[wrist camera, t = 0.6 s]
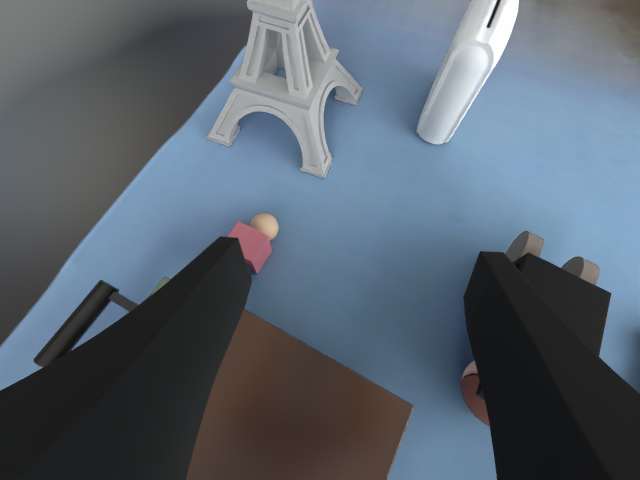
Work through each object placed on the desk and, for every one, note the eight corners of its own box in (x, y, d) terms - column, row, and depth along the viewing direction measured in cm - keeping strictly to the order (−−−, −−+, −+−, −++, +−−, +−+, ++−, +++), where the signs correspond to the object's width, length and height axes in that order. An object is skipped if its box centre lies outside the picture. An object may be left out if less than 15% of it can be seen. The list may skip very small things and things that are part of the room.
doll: (244, 294, 28) (236, 284, 25) (215, 278, 29) (204, 266, 25) (286, 229, 31) (284, 212, 28) (259, 215, 31) (254, 197, 28)
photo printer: (436, 77, 39) (489, -44, 28) (470, 89, 39) (538, -30, 27) (409, 137, 36) (458, 25, 24) (446, 151, 35) (514, 44, 24)
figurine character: (482, 253, 32) (431, 399, 25) (534, 211, 25) (484, 393, 19) (548, 288, 31) (513, 449, 24) (620, 253, 24) (600, 462, 18)
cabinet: (144, 455, 23) (61, 496, 15) (235, 313, 27) (207, 287, 20) (309, 568, 21) (311, 683, 13) (380, 396, 25) (414, 405, 18)
